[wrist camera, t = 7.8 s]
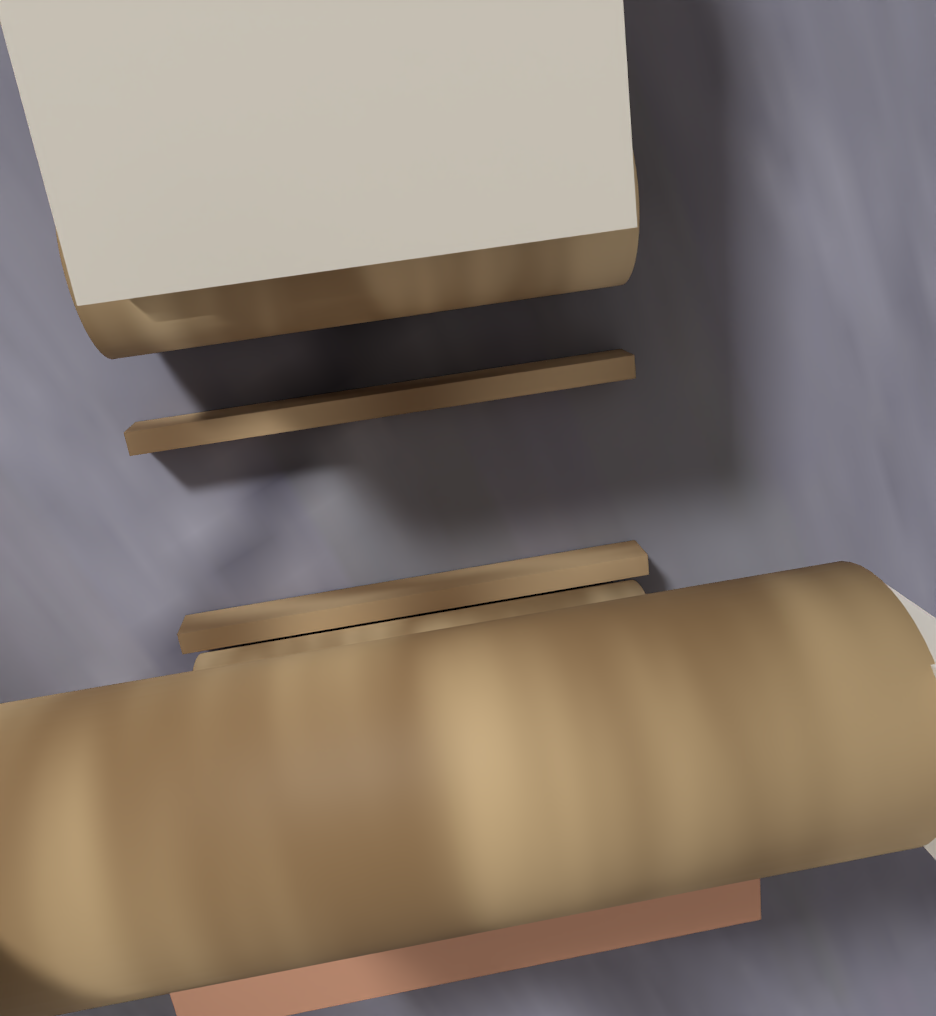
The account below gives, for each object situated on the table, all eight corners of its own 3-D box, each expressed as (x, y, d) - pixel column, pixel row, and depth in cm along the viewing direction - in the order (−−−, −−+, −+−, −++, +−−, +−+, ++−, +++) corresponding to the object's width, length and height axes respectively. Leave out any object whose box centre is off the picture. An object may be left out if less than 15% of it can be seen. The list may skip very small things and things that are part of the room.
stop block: (225, 836, 27) (183, 1036, 20) (203, 754, 26) (151, 936, 19) (665, 754, 28) (760, 919, 21) (659, 672, 27) (758, 818, 20)
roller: (93, 870, 14) (-4, 1105, 10) (22, 652, 13) (-119, 830, 9) (801, 740, 15) (949, 913, 11) (800, 523, 14) (967, 637, 10)
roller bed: (220, 751, 26) (197, 841, 22) (-81, -409, 17) (-204, -585, 13) (644, 674, 27) (691, 749, 23) (563, -461, 18) (617, -640, 14)
